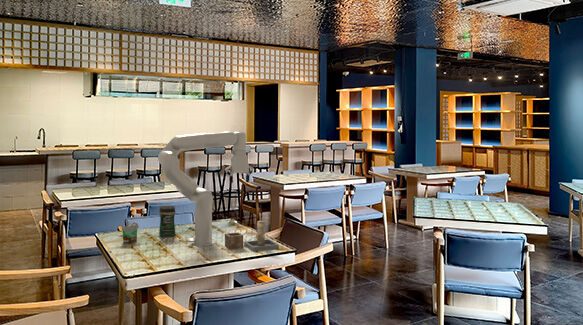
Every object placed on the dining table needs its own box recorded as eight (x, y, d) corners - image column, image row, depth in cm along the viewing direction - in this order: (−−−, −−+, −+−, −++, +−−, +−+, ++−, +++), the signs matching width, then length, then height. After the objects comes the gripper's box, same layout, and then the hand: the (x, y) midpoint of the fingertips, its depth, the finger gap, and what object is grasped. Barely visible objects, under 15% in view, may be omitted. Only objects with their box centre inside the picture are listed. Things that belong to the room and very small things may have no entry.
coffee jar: (159, 237, 282) (158, 207, 281) (159, 234, 290) (158, 205, 288) (175, 236, 285) (175, 206, 283) (175, 234, 292) (175, 204, 291)
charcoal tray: (252, 252, 249) (252, 247, 248) (244, 246, 261) (244, 241, 261) (278, 250, 255) (278, 244, 254) (269, 244, 267) (269, 239, 267)
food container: (131, 244, 266) (131, 226, 265) (121, 243, 267) (121, 226, 266) (142, 239, 278) (142, 222, 277) (133, 238, 279) (133, 222, 278)
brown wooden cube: (229, 251, 252) (229, 236, 251) (224, 247, 259) (224, 233, 258) (243, 249, 255) (243, 235, 254) (238, 246, 262) (238, 232, 262)
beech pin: (258, 247, 255) (258, 222, 254) (256, 246, 259) (256, 221, 258) (265, 247, 257) (265, 221, 256) (263, 245, 260) (263, 220, 260)
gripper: (226, 153, 266) (227, 183, 267) (255, 153, 273) (255, 182, 275) (223, 153, 273) (223, 182, 274) (251, 152, 280) (251, 181, 281)
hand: (239, 182), depth 274 cm, fingers open, 9 cm apart
